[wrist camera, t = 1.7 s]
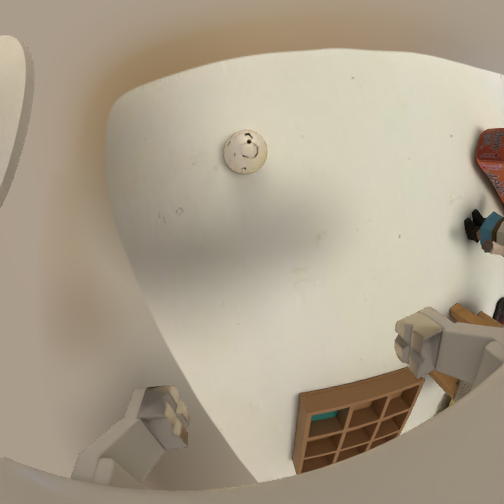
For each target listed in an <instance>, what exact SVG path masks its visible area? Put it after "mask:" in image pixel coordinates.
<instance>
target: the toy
mask: <svg viewBox="0 0 504 504" xmlns="http://www.w3.org/2000/svg"><path fill="white" fill-rule="evenodd" d="M472 215H473V222H474V223H473V222H472V220H471V219H470V218H468V217H467V219H466V220H465V221H464V223H465V230H466V233H467V236H468V239H470V240H474V241H475V242H476V243H478V242H479V240H480V244H481V246H482V249H483V250H484V251H485V252H490V253H491V254H497V255H502V256H503V257H504V217H502V216H500V215H498V214H497V213H495V212H493V213H492V214H490V215H489V216H488V217H487V218H483V217H482V215H481V214H480V213H479V211H478V210H476V209H475V210H474V211H473V212H472Z"/></svg>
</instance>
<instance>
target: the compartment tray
mask: <svg viewBox="0 0 504 504" xmlns="http://www.w3.org/2000/svg"><path fill="white" fill-rule="evenodd" d="M424 381H425V379H424V378H423V377H420V378H418V379H417V378H416V377H415V376H414V375H413V374H412V373H411V371H410V370H409V369H408V367H406V368H403V369H400V370H397V371H394V372H391V373H387V374H384V375H380V376H377V377H373V378H370V379H366V380H362V381H358V382H354V383H350V384H345V385H341V386H336V387H332V388H327V389H322V390H316V391H311V392H305V393H300V397H299V408H298V417H297V427H296V436H295V444H294V452H293V459H292V460H293V463H294V467H295V471H296V475H298V474H302V473H305V472H309V471H312V470H316V469H319V468H322V467H325V466H328V465H331V464H334V463H337V462H340V461H343V460H346V459H348V458H351V457H353V456H356V455H358V454H361V453H363V452H366V451H368V450H370V449H373V448H375V447H377V446H379V445H382V444H384V443H386V442H388V441H390V440H392V439H394V438H396V437H398V436H399V435H400V433H401V431H402V429H403V427H404V425H405V423H406V421H407V419H408V417H409V415H410V413H411V411H412V409H413V406H414V404H415V402H416V400H417V398H418V395H419V393H420V391H421V388H422V386H423V383H424Z"/></svg>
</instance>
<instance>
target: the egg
mask: <svg viewBox="0 0 504 504" xmlns="http://www.w3.org/2000/svg"><path fill="white" fill-rule="evenodd" d="M245 157H247V158H245ZM224 158H225V161H226V163H227V165H228V166H229V167H230V168H231V169H232V170H233V171H235V172H237V173H240V174H250V173H253V172H255V171H257V170H259V169H260V168H261V167H262V166H263V164H264V163H265V161H266V158H267V146H266V143H265V141H264V139H263V138H262V137H261V136H260V135H259V134H258V133H257V132H255V131H252V130H242V131H239V132H236V133H235V134H233V135H232V136H231V137H230V138H229V139H228V141H227V142H226V145H225V148H224Z"/></svg>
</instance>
